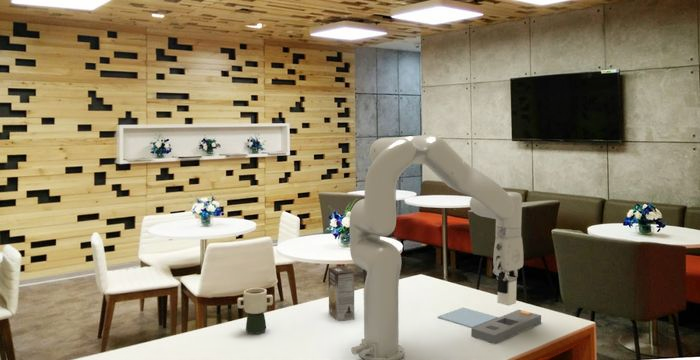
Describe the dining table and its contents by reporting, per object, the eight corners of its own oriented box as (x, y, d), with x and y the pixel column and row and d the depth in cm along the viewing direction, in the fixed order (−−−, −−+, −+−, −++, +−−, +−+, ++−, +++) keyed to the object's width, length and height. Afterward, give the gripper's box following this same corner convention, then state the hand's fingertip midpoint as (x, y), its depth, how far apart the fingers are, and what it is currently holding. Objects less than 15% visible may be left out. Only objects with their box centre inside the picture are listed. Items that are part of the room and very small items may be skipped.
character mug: (271, 325, 177) (270, 286, 176) (275, 333, 170) (274, 292, 169) (237, 330, 174) (235, 289, 173) (239, 337, 167) (238, 295, 166)
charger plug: (508, 305, 168) (509, 279, 167) (497, 302, 171) (497, 277, 170) (516, 303, 171) (516, 277, 170) (504, 300, 174) (505, 275, 173)
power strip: (494, 343, 160) (494, 333, 160) (471, 336, 166) (471, 326, 166) (541, 322, 177) (541, 313, 177) (518, 316, 183) (518, 307, 183)
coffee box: (328, 313, 189) (327, 267, 188) (345, 311, 192) (345, 265, 190) (337, 321, 181) (336, 273, 179) (355, 319, 183) (355, 271, 182)
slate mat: (472, 328, 173) (472, 327, 173) (437, 317, 183) (437, 316, 183) (497, 318, 182) (497, 316, 182) (463, 308, 193) (463, 307, 193)
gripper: (503, 237, 161) (502, 299, 162) (534, 230, 172) (532, 288, 173) (481, 233, 166) (480, 293, 168) (512, 228, 178) (511, 284, 179)
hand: (506, 290), depth 171 cm, fingers closed on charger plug, 4 cm apart
